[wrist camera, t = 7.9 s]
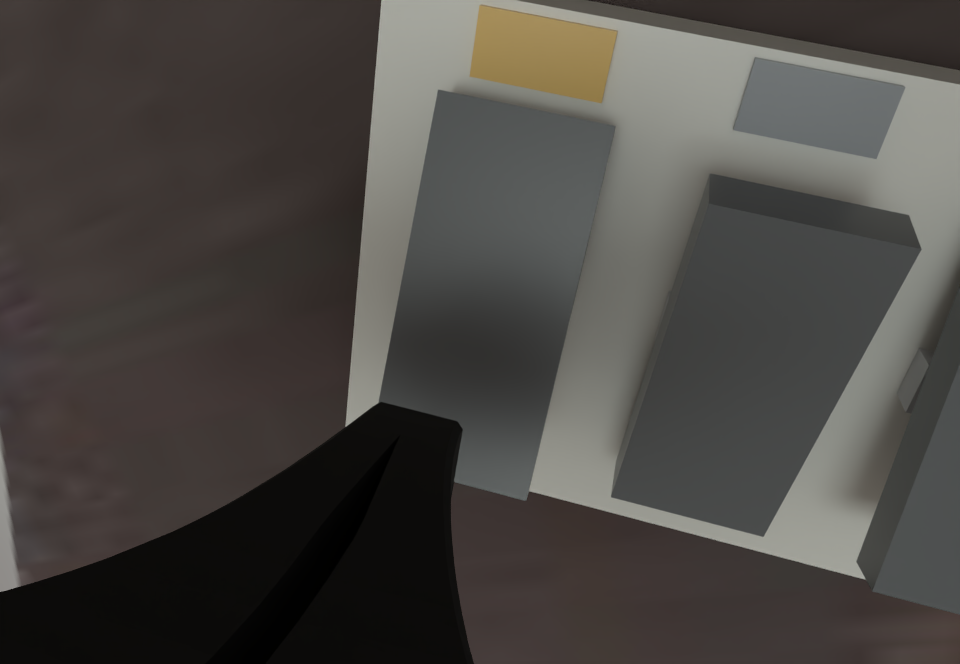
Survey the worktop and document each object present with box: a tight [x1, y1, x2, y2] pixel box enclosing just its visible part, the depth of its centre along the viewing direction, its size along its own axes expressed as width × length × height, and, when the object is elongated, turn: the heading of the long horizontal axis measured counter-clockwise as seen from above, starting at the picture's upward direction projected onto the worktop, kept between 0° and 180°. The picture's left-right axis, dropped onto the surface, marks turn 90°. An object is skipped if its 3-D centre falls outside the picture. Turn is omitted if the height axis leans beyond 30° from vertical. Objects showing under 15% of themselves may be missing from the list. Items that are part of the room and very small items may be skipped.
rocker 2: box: [611, 173, 922, 537], centre depth 17 cm, size 4×8×1 cm, turn 171°
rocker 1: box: [378, 90, 616, 501], centre depth 17 cm, size 4×8×1 cm, turn 171°
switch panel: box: [346, 0, 960, 580], centre depth 19 cm, size 18×12×3 cm, turn 81°
